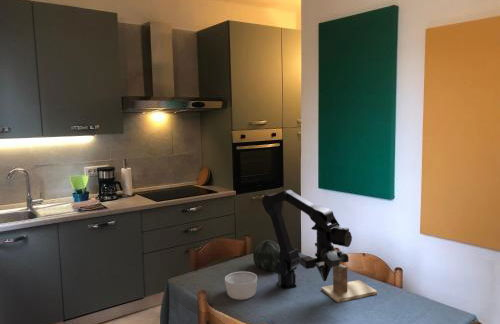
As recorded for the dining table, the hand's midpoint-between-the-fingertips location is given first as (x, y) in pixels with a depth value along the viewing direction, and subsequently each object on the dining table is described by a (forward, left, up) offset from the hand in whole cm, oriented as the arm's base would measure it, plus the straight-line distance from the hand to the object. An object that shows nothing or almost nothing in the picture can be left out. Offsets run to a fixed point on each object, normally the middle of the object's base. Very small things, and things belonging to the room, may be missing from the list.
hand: (324, 280), depth 157 cm
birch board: (+11, 0, -7) cm, 13 cm away
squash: (-8, +37, -7) cm, 38 cm away
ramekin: (-29, +16, -7) cm, 34 cm away
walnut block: (+7, 0, -5) cm, 9 cm away
